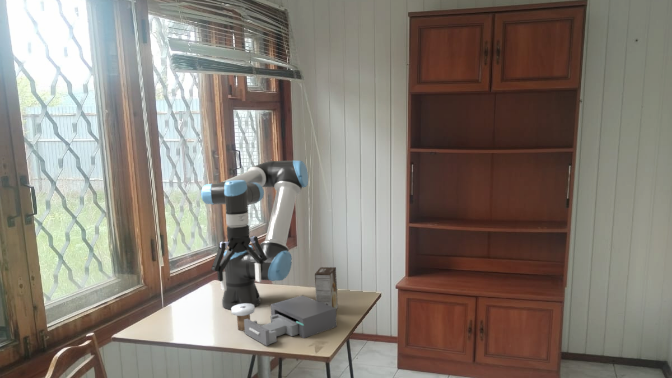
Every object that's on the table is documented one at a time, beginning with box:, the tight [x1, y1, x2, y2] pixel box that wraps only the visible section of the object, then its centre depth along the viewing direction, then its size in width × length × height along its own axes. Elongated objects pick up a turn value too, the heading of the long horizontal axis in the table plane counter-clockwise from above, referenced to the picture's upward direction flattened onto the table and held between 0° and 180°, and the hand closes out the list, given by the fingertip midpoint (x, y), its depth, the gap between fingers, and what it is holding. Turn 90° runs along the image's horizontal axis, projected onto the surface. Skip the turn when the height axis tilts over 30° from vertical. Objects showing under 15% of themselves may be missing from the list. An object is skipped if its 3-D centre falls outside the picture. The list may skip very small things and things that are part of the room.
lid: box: [231, 303, 256, 317], centre depth 172 cm, size 8×8×2 cm
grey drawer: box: [244, 314, 299, 347], centre depth 166 cm, size 14×14×5 cm
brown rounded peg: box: [236, 314, 251, 332], centre depth 173 cm, size 4×4×6 cm
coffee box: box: [314, 266, 339, 310], centre depth 186 cm, size 9×6×16 cm
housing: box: [270, 294, 337, 339], centre depth 174 cm, size 20×14×7 cm
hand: (241, 285), depth 171 cm, fingers open, 13 cm apart
